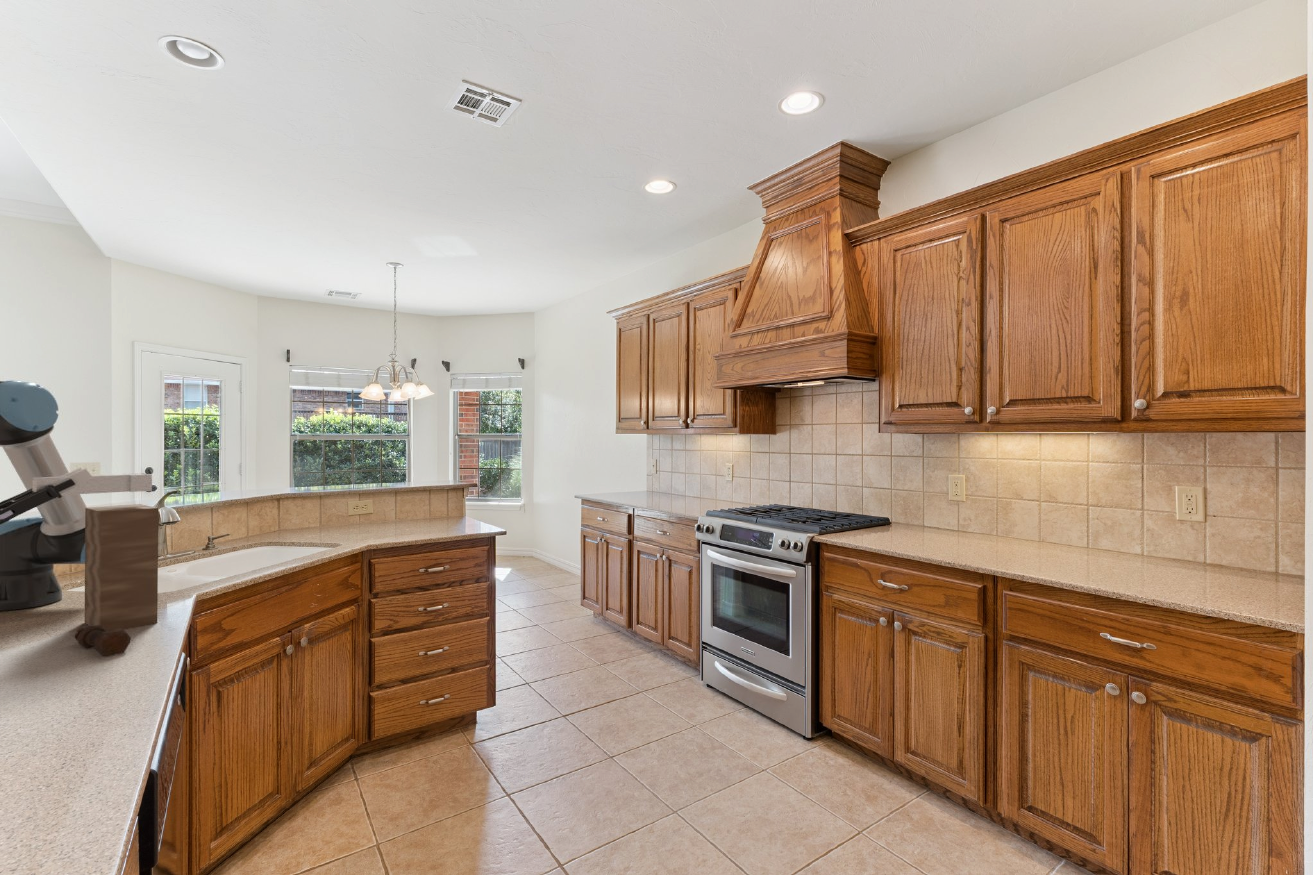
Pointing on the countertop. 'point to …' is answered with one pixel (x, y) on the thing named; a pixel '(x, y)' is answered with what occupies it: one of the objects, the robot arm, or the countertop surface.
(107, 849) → the countertop surface
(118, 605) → the wooden block
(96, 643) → the bolt
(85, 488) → the steel block
